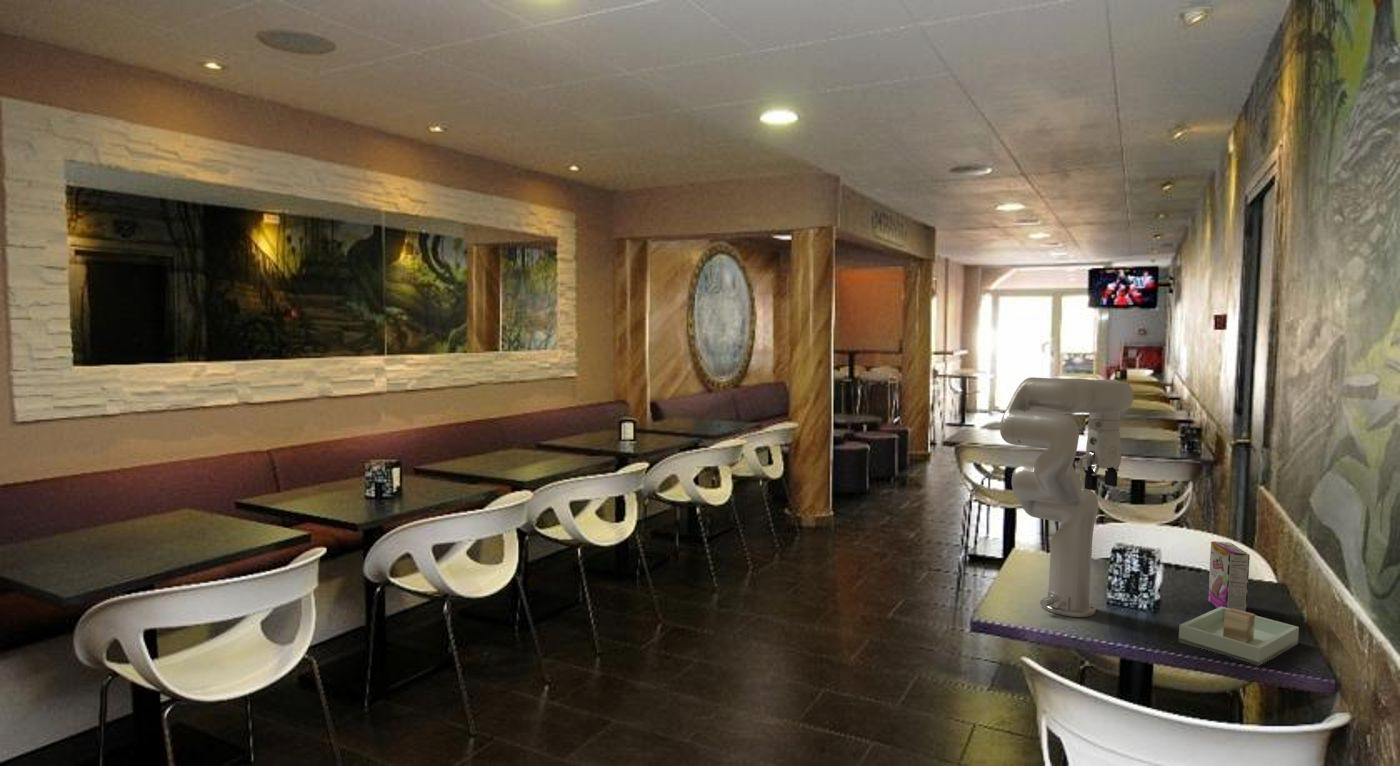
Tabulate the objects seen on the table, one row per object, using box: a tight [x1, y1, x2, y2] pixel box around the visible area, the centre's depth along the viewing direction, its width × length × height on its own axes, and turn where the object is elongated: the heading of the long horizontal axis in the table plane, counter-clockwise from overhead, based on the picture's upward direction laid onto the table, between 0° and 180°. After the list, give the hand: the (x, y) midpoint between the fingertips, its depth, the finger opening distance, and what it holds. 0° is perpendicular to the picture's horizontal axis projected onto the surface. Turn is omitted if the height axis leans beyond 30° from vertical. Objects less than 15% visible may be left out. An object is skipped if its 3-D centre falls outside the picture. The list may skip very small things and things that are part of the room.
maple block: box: [1223, 609, 1256, 643], centre depth 182 cm, size 4×4×6 cm
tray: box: [1178, 606, 1300, 667], centre depth 183 cm, size 22×16×4 cm
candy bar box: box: [1207, 540, 1251, 612], centre depth 204 cm, size 11×5×16 cm, turn 168°
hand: (1100, 487), depth 218 cm, fingers open, 9 cm apart
